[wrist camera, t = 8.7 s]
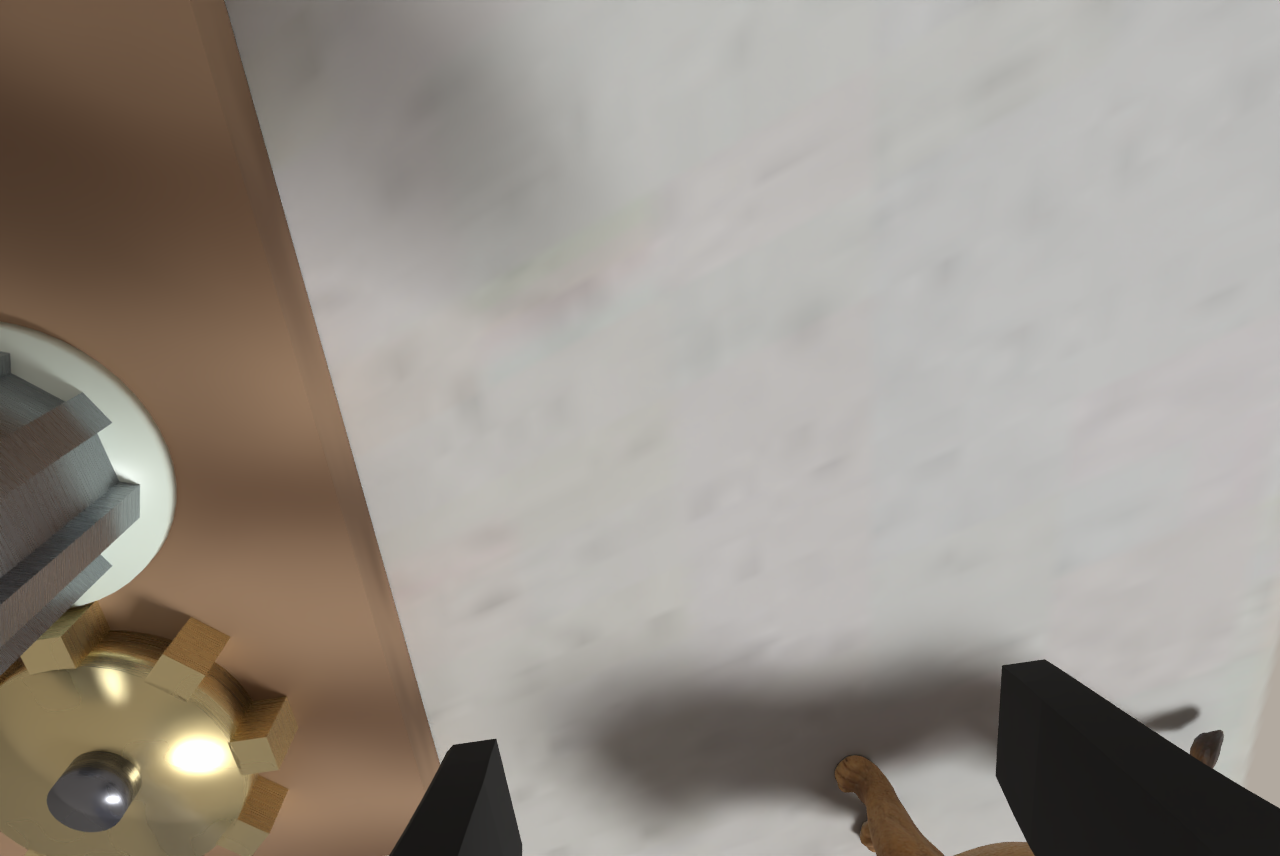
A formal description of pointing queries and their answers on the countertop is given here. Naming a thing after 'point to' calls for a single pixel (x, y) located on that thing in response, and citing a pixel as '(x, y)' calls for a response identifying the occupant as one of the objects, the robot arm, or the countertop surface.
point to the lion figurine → (899, 838)
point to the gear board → (189, 470)
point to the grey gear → (52, 507)
